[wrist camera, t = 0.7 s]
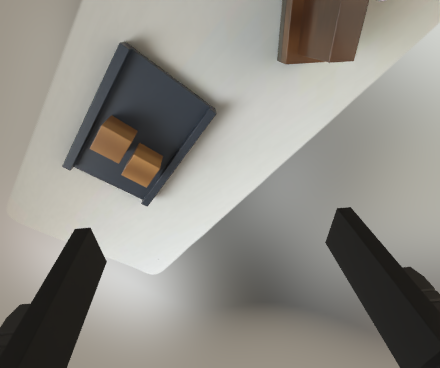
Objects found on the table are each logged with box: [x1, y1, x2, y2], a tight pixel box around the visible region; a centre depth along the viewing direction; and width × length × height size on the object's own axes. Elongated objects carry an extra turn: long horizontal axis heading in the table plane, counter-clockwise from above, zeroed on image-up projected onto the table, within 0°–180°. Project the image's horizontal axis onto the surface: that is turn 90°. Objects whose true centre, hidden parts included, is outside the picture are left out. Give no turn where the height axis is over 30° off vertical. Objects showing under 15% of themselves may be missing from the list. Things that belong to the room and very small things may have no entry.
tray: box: [62, 42, 216, 206], centre depth 34 cm, size 20×14×2 cm
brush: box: [277, 0, 369, 64], centre depth 24 cm, size 10×5×12 cm, turn 2°
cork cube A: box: [90, 115, 138, 164], centre depth 32 cm, size 4×4×4 cm
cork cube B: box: [121, 143, 163, 188], centre depth 35 cm, size 4×4×4 cm
